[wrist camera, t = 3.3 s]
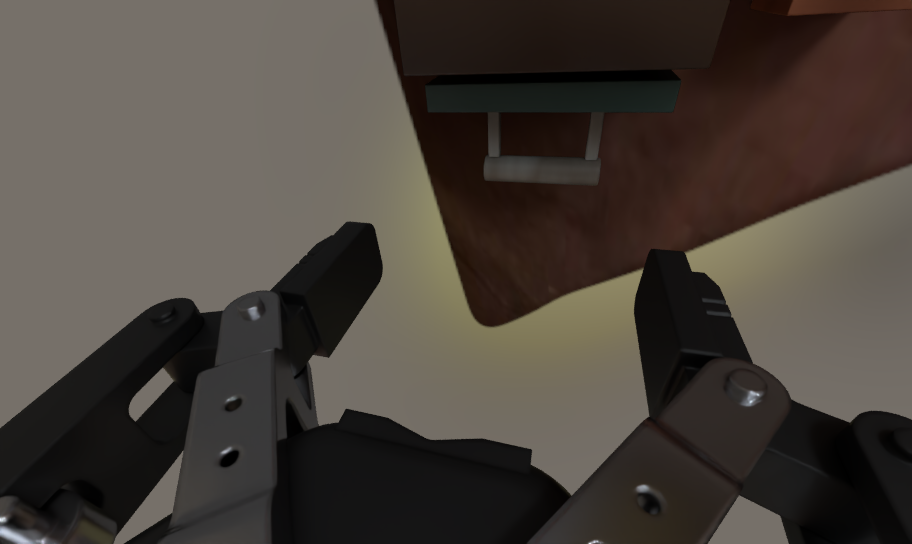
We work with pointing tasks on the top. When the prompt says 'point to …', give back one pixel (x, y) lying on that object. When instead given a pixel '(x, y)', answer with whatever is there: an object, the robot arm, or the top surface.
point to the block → (828, 6)
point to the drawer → (552, 96)
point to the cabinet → (556, 35)
